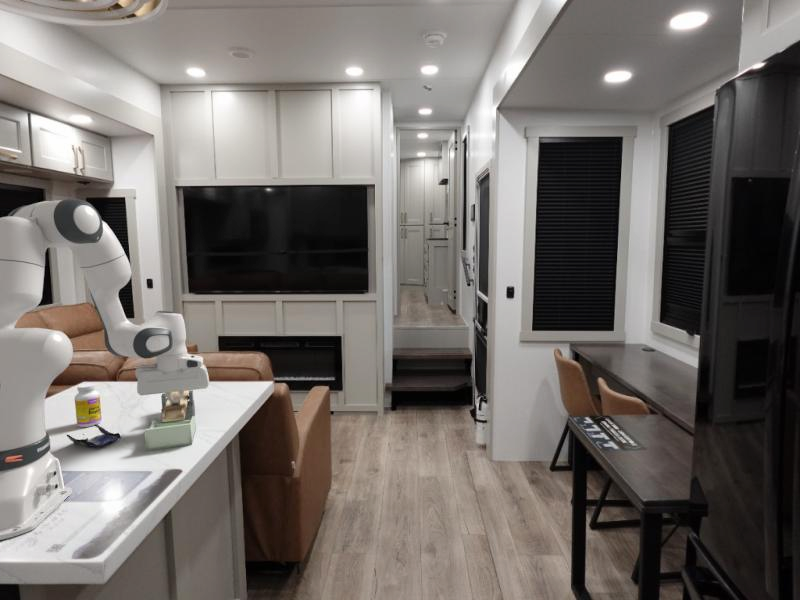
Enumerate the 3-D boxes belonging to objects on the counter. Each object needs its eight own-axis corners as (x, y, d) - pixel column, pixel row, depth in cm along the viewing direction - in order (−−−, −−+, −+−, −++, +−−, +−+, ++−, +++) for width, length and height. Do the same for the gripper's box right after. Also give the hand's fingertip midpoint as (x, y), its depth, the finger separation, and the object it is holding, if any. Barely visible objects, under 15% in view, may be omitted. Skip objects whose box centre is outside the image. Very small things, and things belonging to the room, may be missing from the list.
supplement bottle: (89, 428, 144) (85, 388, 143) (72, 427, 146) (67, 387, 144) (107, 420, 151) (103, 382, 150) (90, 419, 152) (86, 381, 151)
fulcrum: (193, 421, 149) (191, 394, 148) (162, 425, 146) (160, 397, 145) (195, 414, 155) (193, 388, 154) (165, 418, 152) (163, 392, 151)
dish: (191, 444, 131) (190, 424, 130) (146, 451, 127) (144, 430, 127) (195, 428, 143) (194, 409, 142) (154, 433, 139) (152, 414, 139)
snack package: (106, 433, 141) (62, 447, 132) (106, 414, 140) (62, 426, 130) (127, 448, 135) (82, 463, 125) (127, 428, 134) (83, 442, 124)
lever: (186, 425, 141) (184, 411, 139) (162, 428, 139) (160, 414, 137) (192, 386, 162) (191, 374, 161) (171, 388, 160) (170, 376, 159)
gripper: (132, 367, 137) (136, 412, 139) (206, 361, 144) (209, 403, 145) (136, 362, 143) (140, 405, 145) (207, 356, 150) (210, 397, 151)
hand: (175, 404), depth 145 cm, fingers closed, pressing on lever
